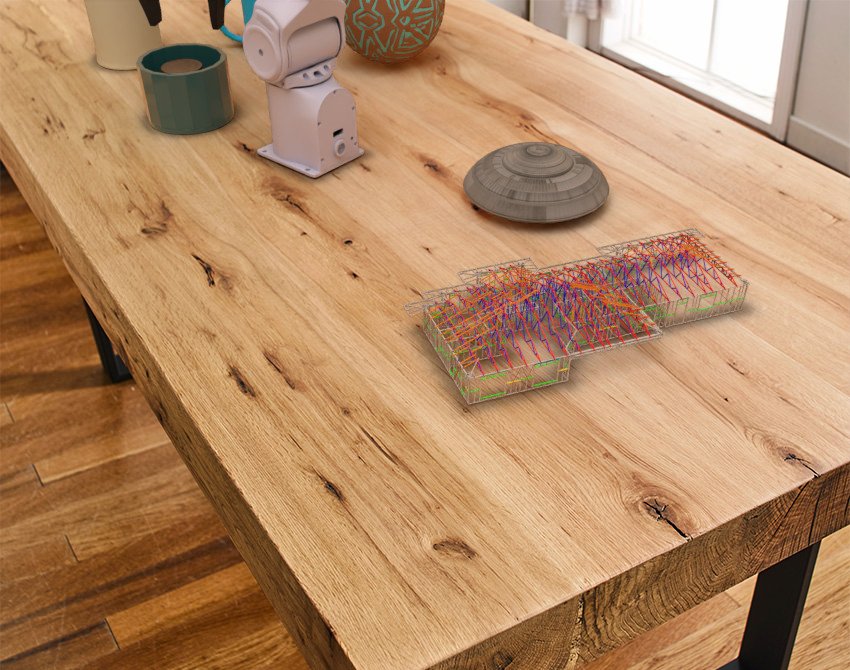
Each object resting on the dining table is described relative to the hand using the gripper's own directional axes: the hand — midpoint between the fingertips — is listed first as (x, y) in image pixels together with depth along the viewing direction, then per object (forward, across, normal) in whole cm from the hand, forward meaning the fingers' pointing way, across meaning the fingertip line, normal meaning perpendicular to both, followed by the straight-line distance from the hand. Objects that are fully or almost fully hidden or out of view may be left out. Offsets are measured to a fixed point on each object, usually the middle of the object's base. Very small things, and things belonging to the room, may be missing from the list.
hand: (187, 25), depth 107 cm
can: (+10, -16, +15) cm, 24 cm away
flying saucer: (+10, +42, -15) cm, 46 cm away
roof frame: (+10, +49, -36) cm, 62 cm away
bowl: (+10, -1, -2) cm, 10 cm away
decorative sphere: (+10, +19, +20) cm, 30 cm away
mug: (+10, 0, +23) cm, 25 cm away
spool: (+10, -1, -2) cm, 10 cm away
